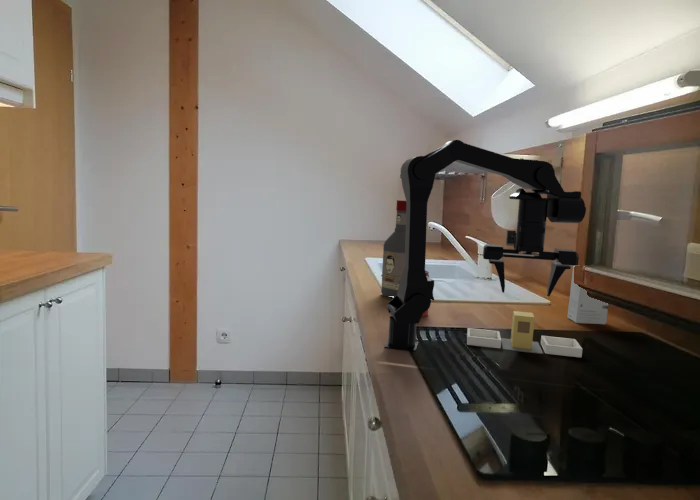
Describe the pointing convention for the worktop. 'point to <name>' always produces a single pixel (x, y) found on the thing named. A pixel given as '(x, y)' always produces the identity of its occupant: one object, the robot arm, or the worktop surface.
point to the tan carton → (522, 329)
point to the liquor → (394, 254)
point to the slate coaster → (535, 348)
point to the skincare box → (585, 306)
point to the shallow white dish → (483, 338)
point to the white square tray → (561, 346)
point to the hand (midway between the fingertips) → (525, 294)
